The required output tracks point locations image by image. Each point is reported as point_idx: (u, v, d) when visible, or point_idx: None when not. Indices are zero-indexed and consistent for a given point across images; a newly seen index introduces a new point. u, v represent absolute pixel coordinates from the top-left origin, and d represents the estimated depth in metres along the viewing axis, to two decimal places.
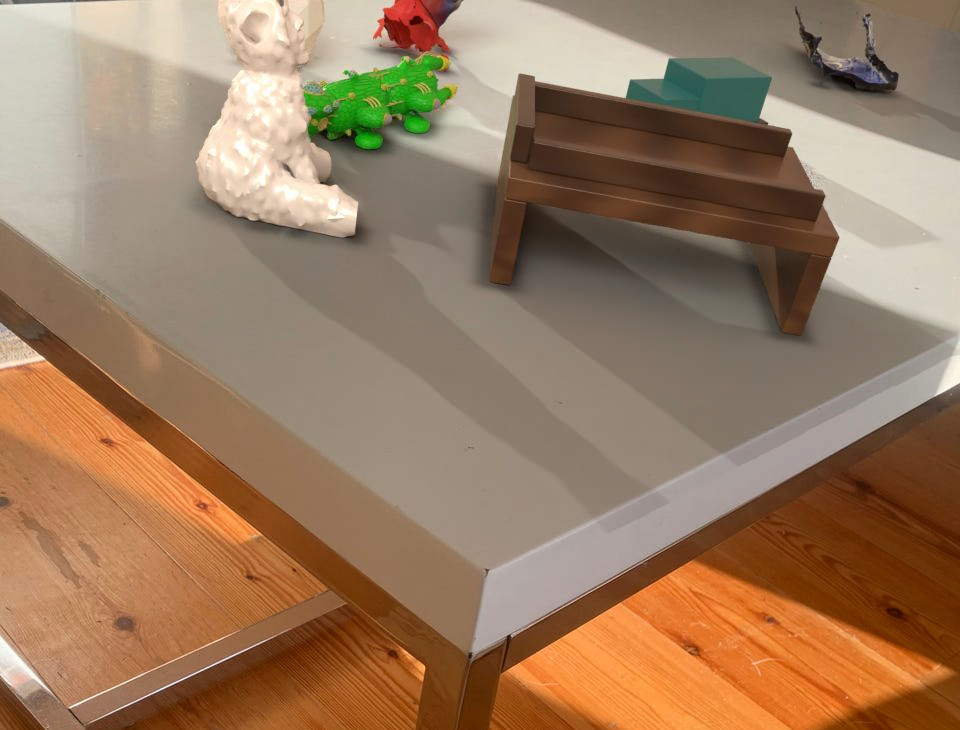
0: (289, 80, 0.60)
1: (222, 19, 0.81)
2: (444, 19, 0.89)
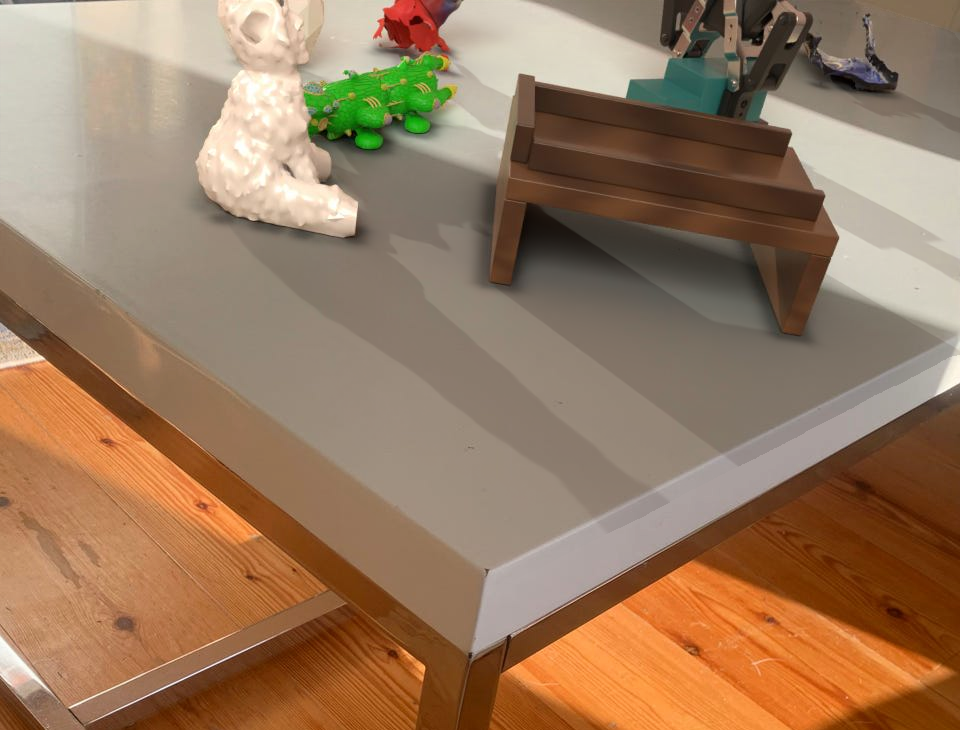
0: (289, 80, 0.60)
1: (222, 19, 0.81)
2: (444, 19, 0.89)
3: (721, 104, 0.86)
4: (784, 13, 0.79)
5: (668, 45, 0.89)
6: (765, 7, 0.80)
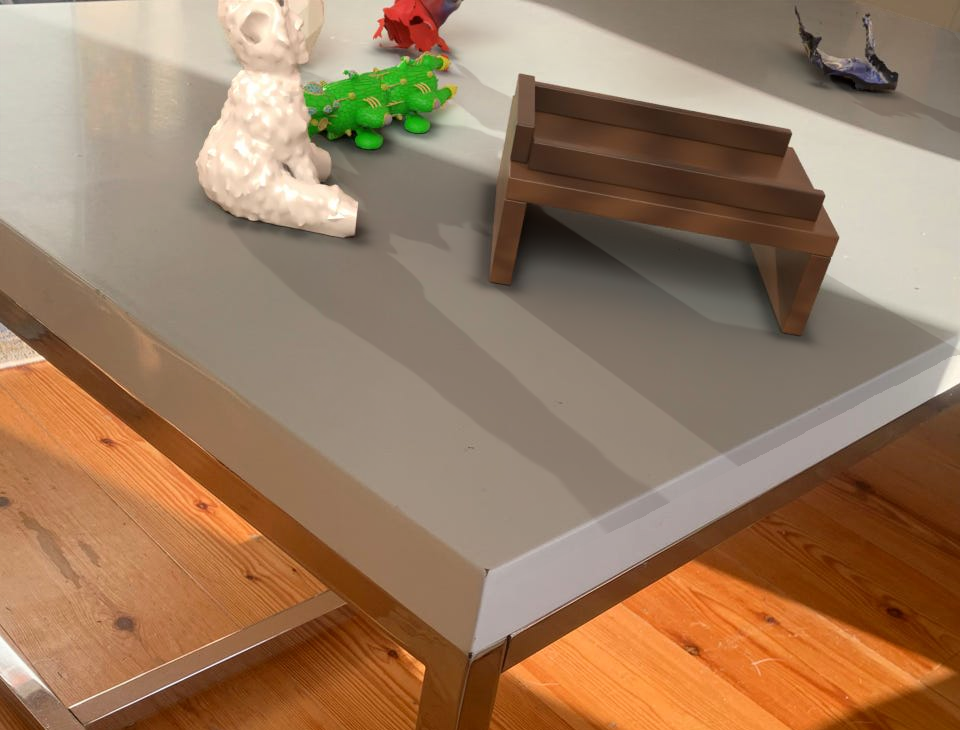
0: (289, 80, 0.60)
1: (222, 19, 0.81)
2: (444, 19, 0.89)
3: None
4: None
5: None
6: None
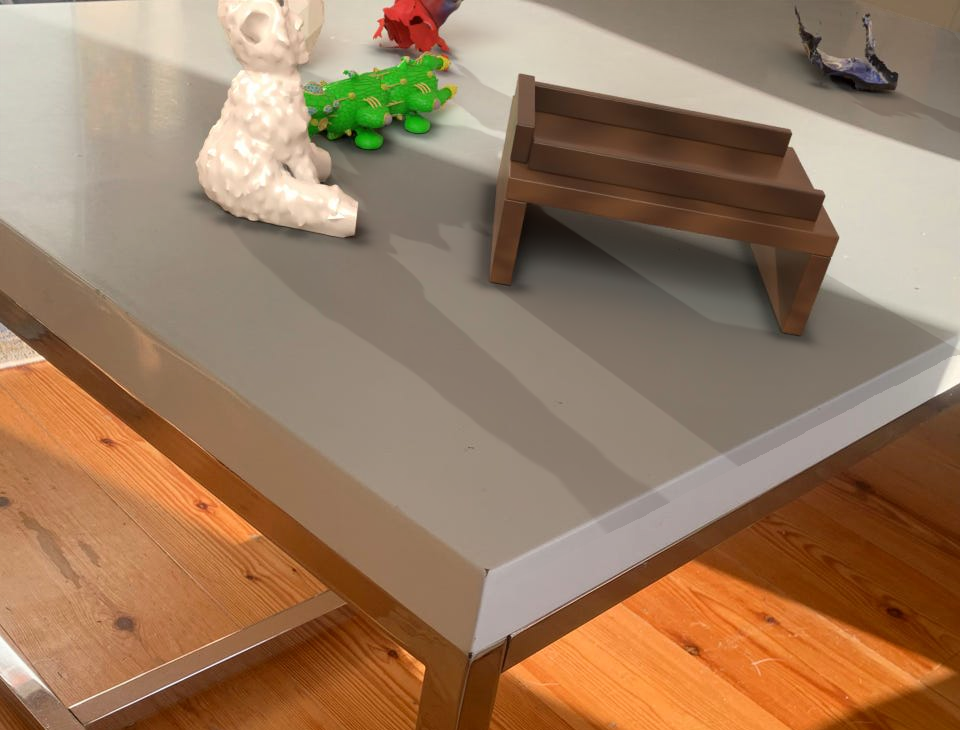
0: (289, 80, 0.60)
1: (222, 19, 0.81)
2: (444, 19, 0.89)
3: None
4: None
5: None
6: None
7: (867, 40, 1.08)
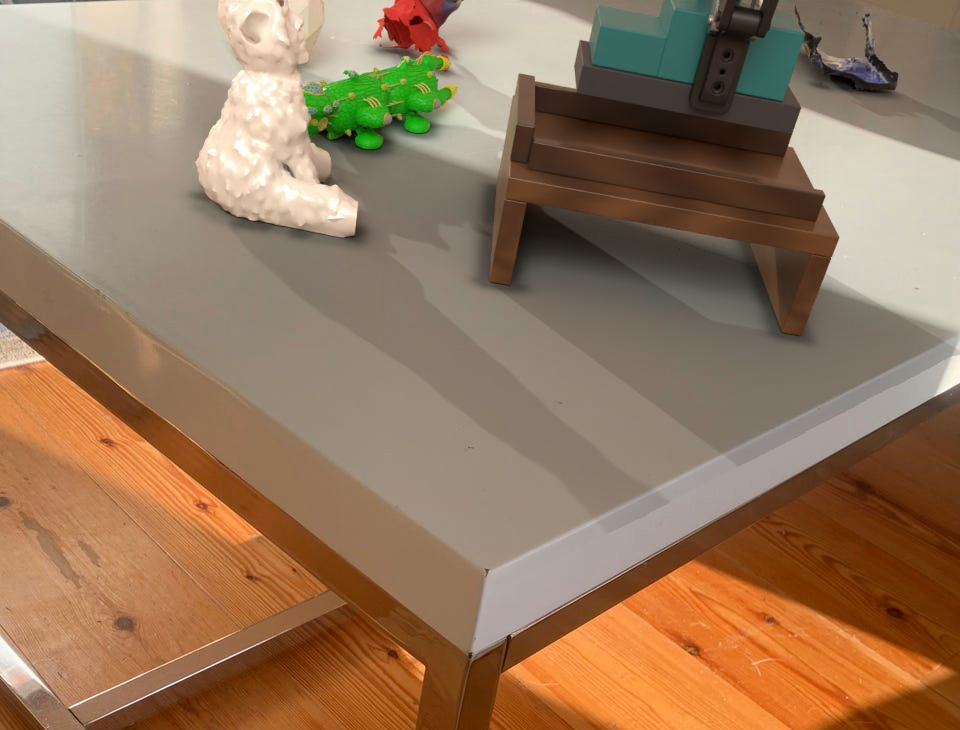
0: (289, 80, 0.60)
1: (222, 19, 0.81)
2: (444, 19, 0.89)
3: (701, 54, 0.58)
4: None
5: None
6: None
7: (867, 40, 1.08)
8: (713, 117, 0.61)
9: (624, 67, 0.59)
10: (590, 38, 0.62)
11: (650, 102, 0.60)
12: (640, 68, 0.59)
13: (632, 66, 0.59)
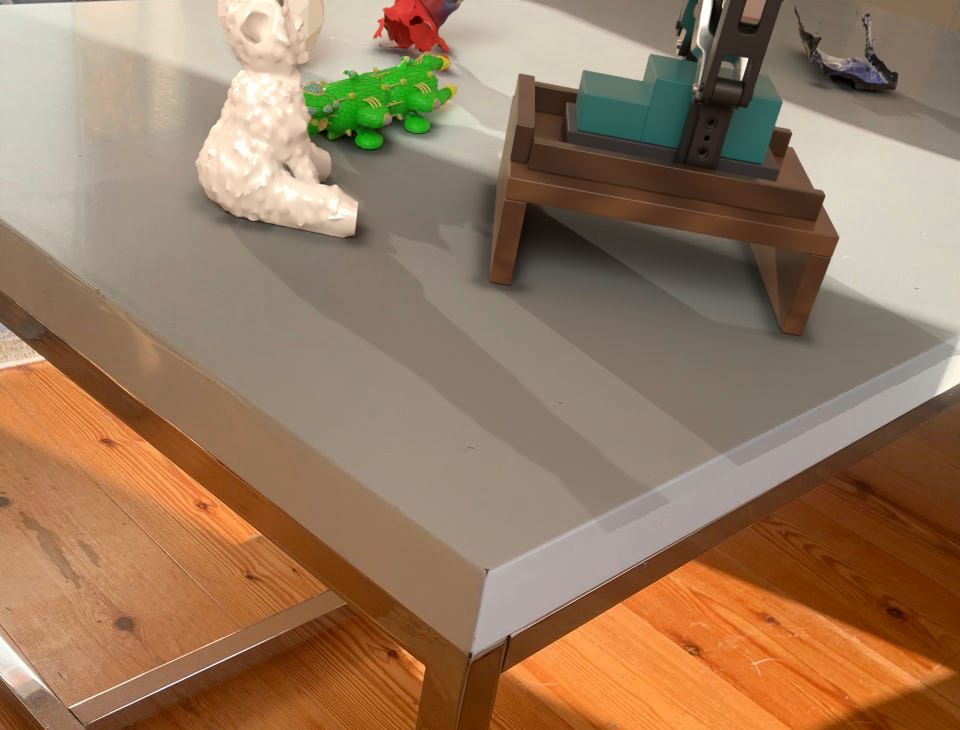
0: (289, 80, 0.60)
1: (222, 19, 0.81)
2: (444, 19, 0.89)
3: (686, 120, 0.60)
4: None
5: (680, 35, 0.66)
6: None
7: (867, 40, 1.08)
8: None
9: (608, 132, 0.62)
10: (576, 101, 0.64)
11: None
12: (624, 133, 0.62)
13: (616, 131, 0.62)
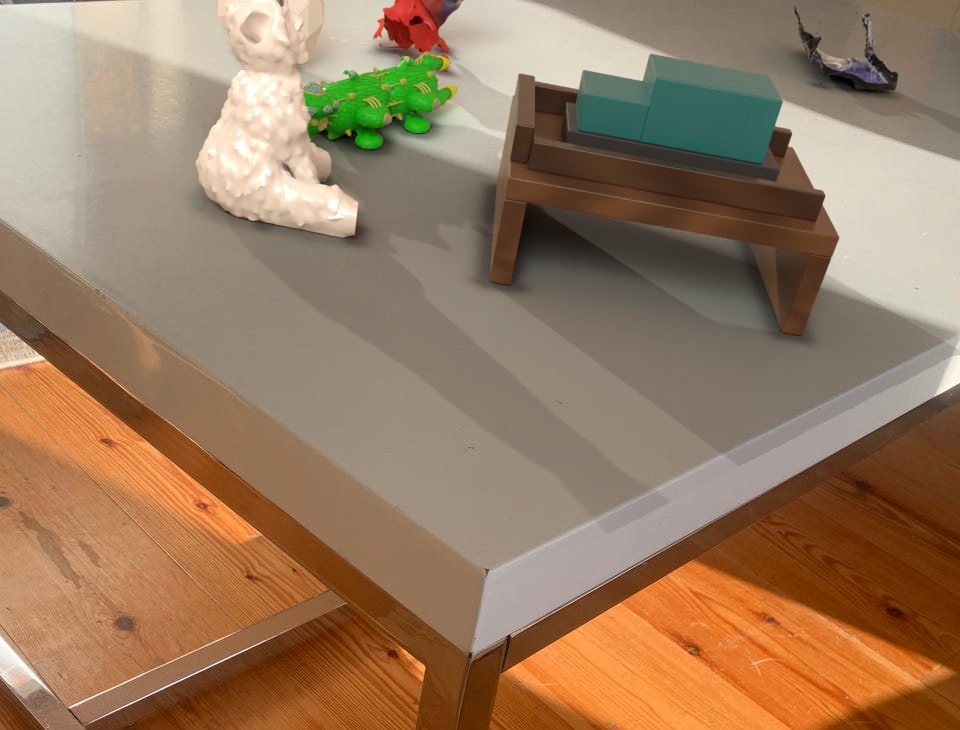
0: (289, 80, 0.60)
1: (222, 19, 0.81)
2: (444, 19, 0.89)
3: None
4: None
5: None
6: None
7: (867, 40, 1.08)
8: None
9: (608, 132, 0.62)
10: (576, 101, 0.64)
11: None
12: (624, 133, 0.62)
13: (616, 131, 0.62)
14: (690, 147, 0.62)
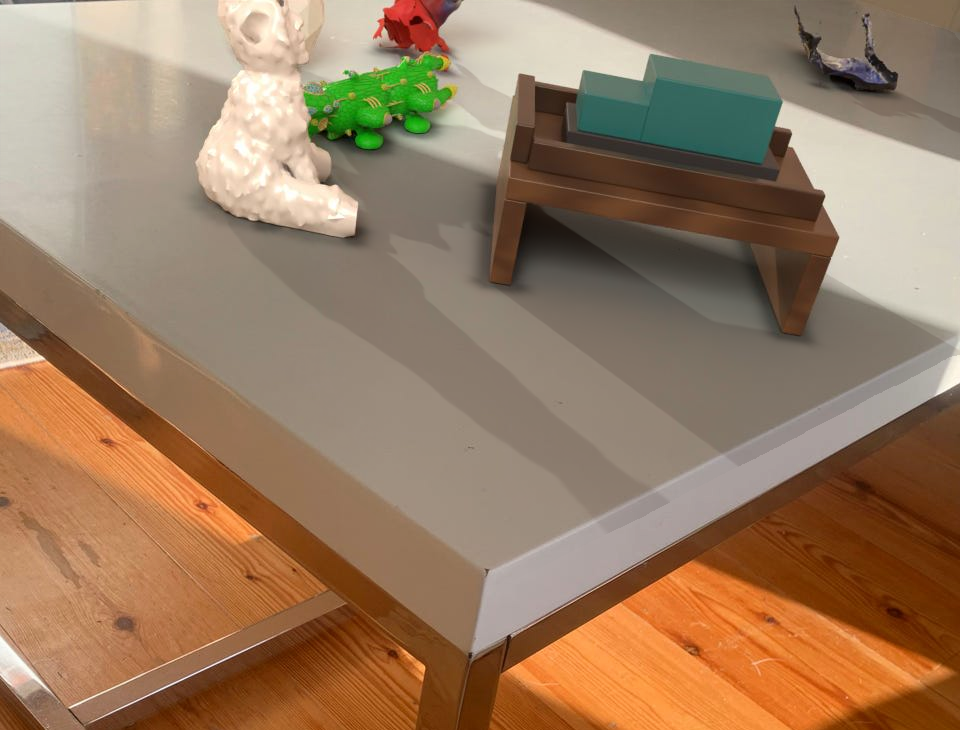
0: (289, 80, 0.60)
1: (222, 19, 0.81)
2: (444, 19, 0.89)
3: None
4: None
5: None
6: None
7: (867, 40, 1.08)
8: None
9: (608, 132, 0.62)
10: (576, 101, 0.64)
11: None
12: (624, 133, 0.62)
13: (616, 131, 0.62)
14: (690, 147, 0.62)
